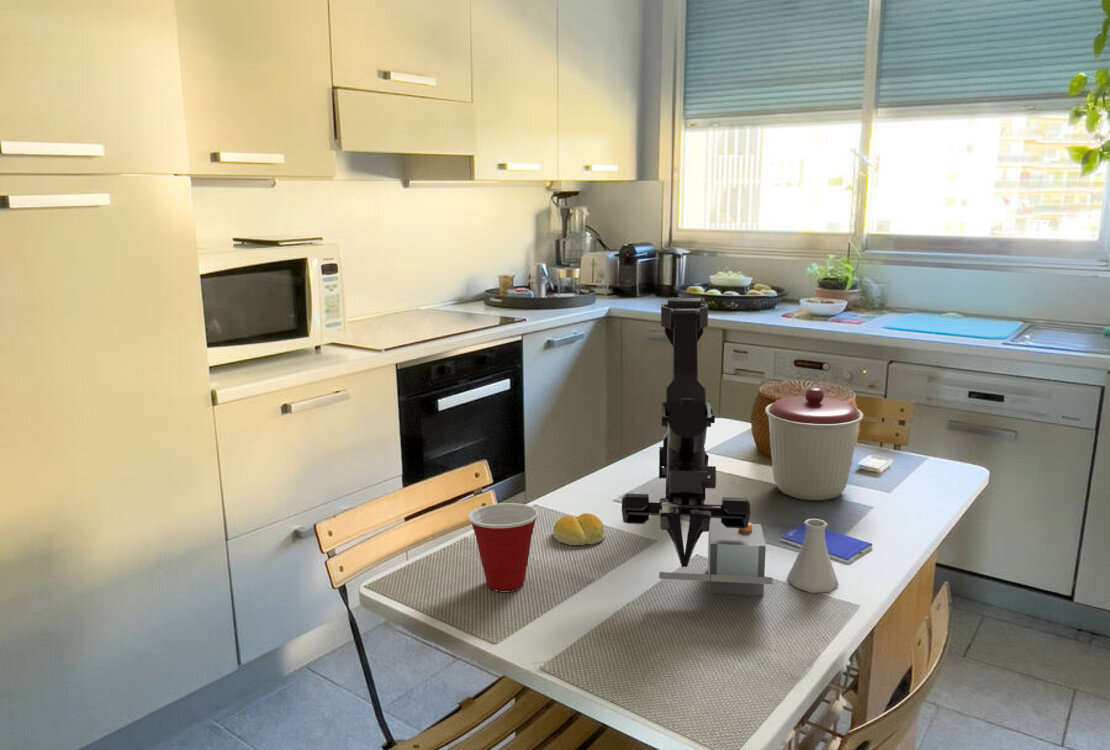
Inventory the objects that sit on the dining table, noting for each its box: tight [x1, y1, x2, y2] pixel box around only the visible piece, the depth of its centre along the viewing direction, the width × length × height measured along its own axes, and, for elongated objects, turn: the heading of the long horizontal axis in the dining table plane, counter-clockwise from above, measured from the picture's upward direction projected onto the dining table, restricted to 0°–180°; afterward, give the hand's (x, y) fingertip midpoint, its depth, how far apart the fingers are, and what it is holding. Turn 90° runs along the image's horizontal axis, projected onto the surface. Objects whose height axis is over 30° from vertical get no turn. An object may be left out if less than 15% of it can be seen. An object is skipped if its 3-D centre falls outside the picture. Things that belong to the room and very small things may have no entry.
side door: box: [659, 571, 773, 585], centre depth 122 cm, size 1×16×8 cm
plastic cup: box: [467, 502, 539, 592], centre depth 131 cm, size 11×11×12 cm
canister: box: [764, 387, 864, 502], centre depth 165 cm, size 18×18×21 cm
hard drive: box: [780, 522, 873, 565], centre depth 144 cm, size 2×8×12 cm
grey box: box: [707, 521, 767, 597], centre depth 130 cm, size 9×8×9 cm
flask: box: [786, 518, 839, 594], centre depth 129 cm, size 7×7×10 cm
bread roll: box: [552, 512, 606, 546], centre depth 148 cm, size 8×9×4 cm
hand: (684, 566), depth 123 cm, fingers closed
